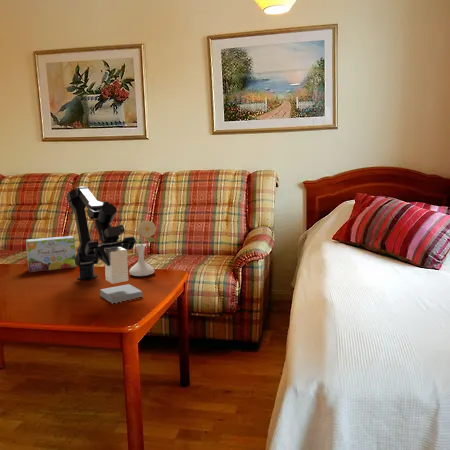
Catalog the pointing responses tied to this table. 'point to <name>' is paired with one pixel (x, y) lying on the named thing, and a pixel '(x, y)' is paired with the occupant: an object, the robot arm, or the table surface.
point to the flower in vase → (141, 266)
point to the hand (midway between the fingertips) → (117, 264)
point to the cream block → (116, 265)
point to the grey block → (120, 293)
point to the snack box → (50, 253)
